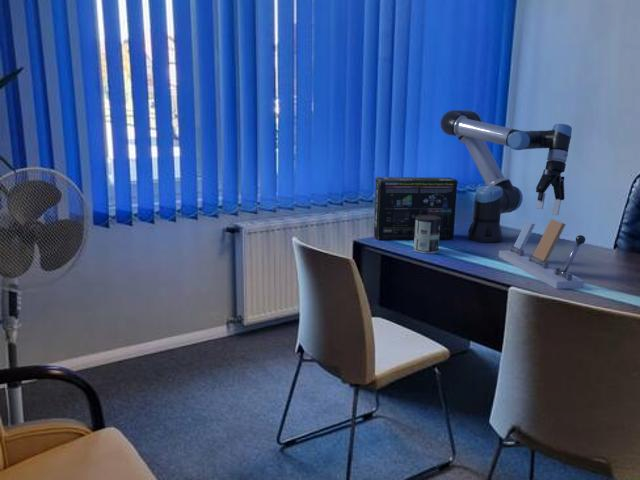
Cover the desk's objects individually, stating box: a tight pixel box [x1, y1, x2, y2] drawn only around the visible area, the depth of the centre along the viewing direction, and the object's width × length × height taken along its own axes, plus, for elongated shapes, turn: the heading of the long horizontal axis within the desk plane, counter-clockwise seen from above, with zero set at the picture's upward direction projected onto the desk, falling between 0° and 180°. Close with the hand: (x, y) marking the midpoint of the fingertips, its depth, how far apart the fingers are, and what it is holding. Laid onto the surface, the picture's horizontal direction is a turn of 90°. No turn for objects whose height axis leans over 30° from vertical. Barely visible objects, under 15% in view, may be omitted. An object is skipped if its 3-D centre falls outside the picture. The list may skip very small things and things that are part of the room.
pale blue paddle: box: [512, 220, 536, 254], centre depth 217 cm, size 2×5×13 cm, turn 11°
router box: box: [373, 176, 459, 241], centre depth 247 cm, size 36×11×27 cm, turn 96°
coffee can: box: [413, 215, 441, 255], centre depth 227 cm, size 10×10×14 cm
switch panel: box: [498, 244, 585, 290], centre depth 204 cm, size 10×39×5 cm, turn 11°
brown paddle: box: [530, 218, 566, 266], centre depth 202 cm, size 2×8×17 cm, turn 11°
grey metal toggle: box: [556, 234, 586, 278], centre depth 188 cm, size 3×5×15 cm, turn 11°
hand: (547, 212), depth 231 cm, fingers open, 13 cm apart
